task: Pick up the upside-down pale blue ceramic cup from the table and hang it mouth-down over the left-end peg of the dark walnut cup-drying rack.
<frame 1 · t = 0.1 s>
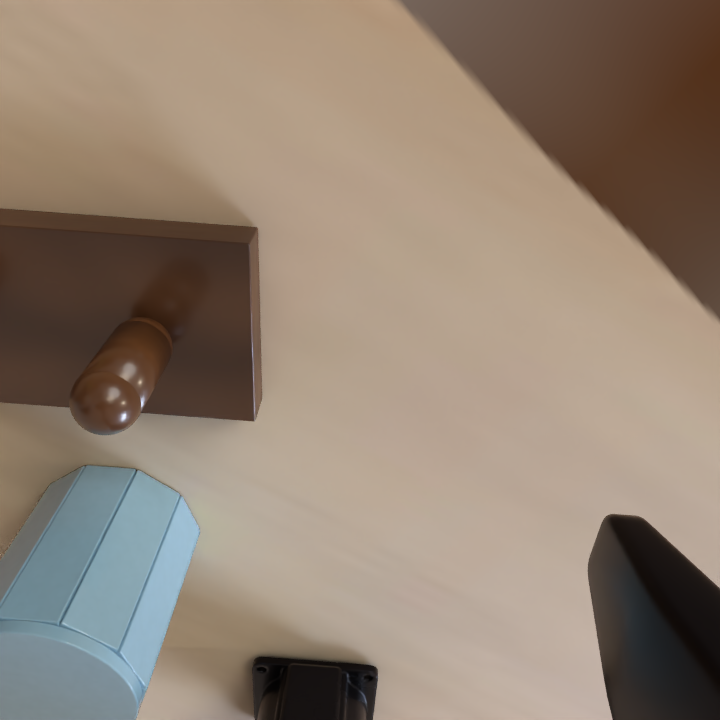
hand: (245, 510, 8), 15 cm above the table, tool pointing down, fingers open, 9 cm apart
cup: (121, 523, 29), on the table
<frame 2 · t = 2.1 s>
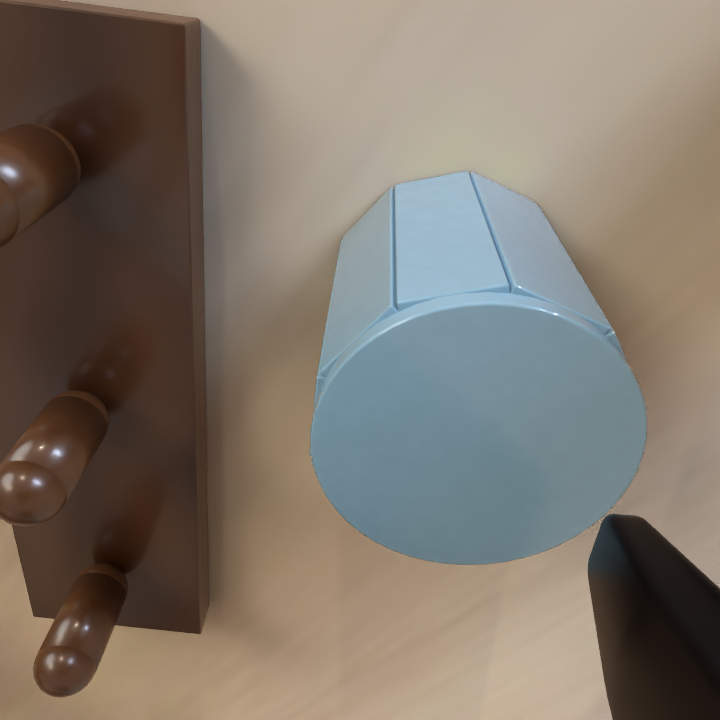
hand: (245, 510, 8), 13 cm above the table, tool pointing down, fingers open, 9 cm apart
cup: (446, 285, 20), on the table
rack: (104, 378, 22), on the table
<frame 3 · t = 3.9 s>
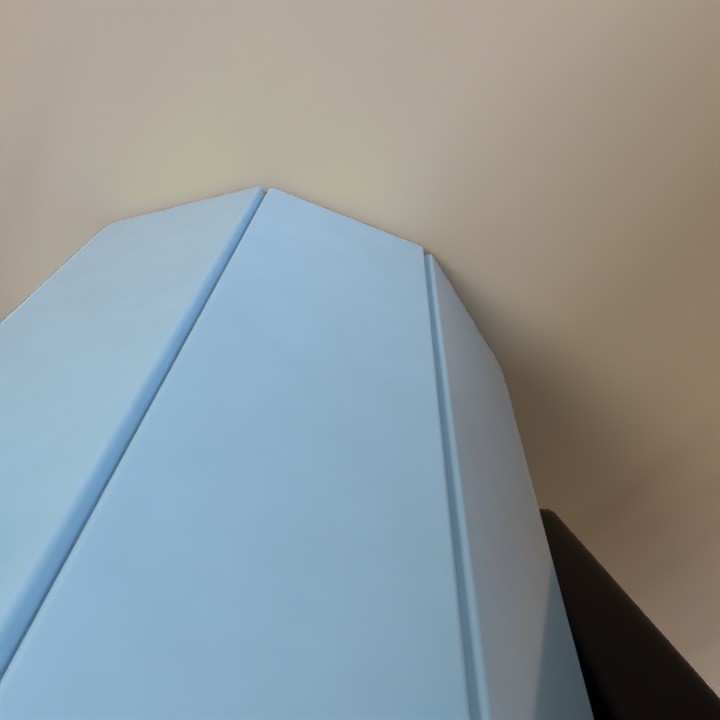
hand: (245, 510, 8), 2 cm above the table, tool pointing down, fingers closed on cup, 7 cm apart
cup: (269, 415, 10), on the table, touching gripper
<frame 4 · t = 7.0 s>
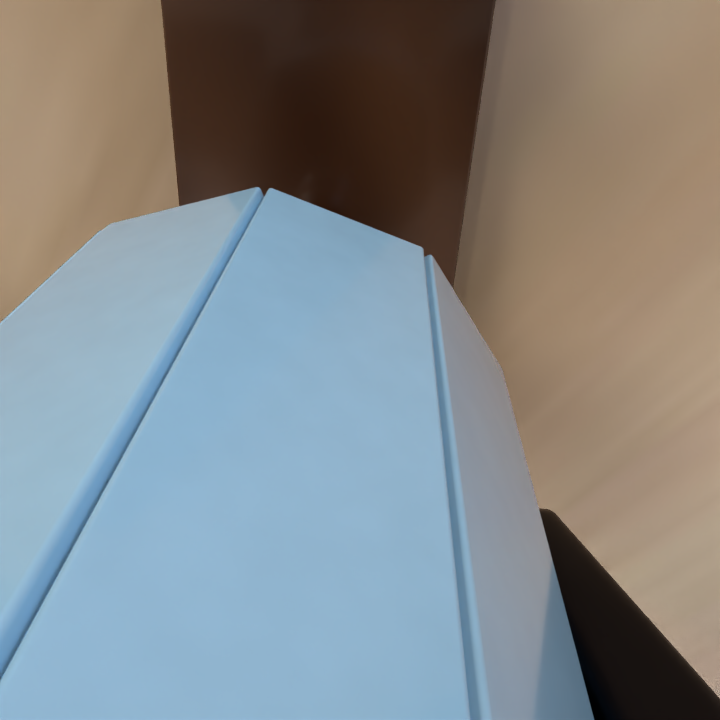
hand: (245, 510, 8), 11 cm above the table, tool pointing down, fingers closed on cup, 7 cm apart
cup: (268, 416, 10), point 9 cm above the table, touching gripper
when the fingers open (3 cm above the table, at t = 10.0 s): cup stays where it is, resting on rack.
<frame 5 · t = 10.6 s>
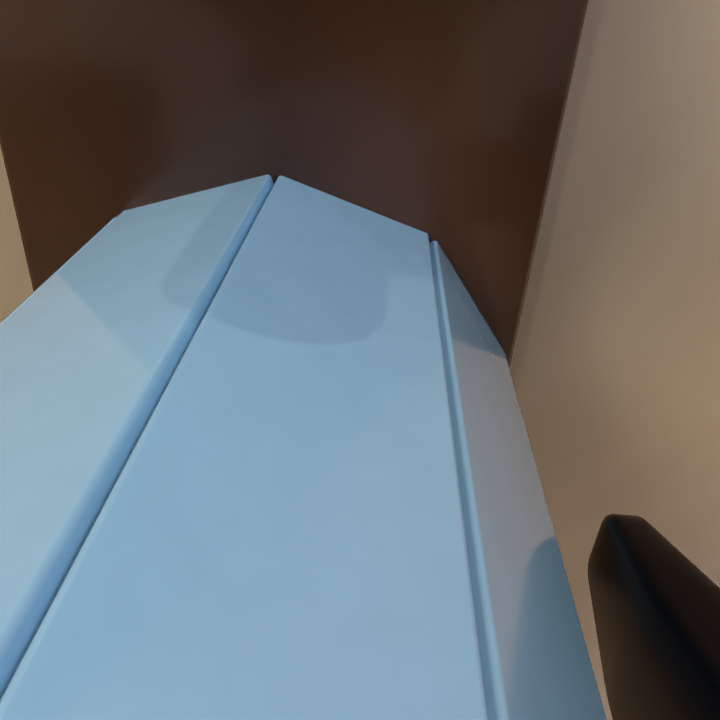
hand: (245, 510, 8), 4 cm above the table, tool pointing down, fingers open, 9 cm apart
cup: (277, 400, 10), point 1 cm above the table, touching rack
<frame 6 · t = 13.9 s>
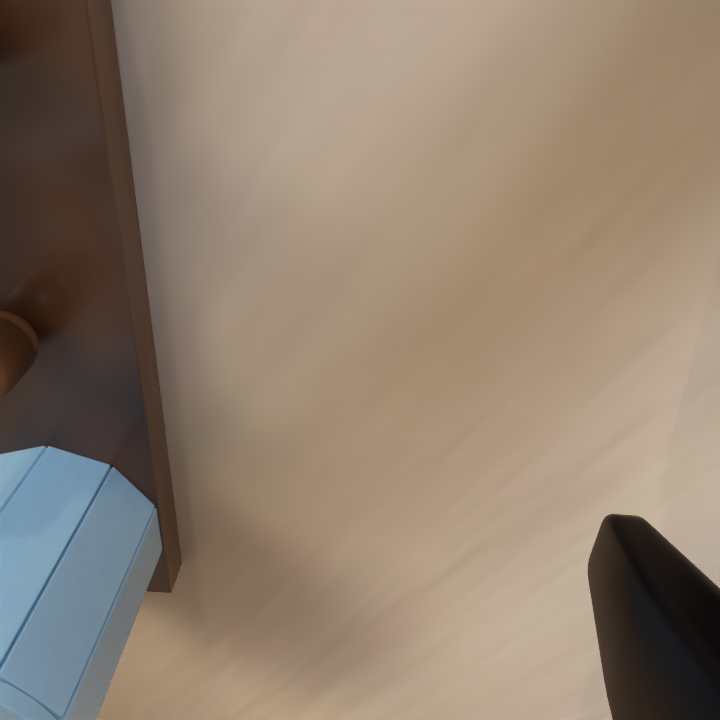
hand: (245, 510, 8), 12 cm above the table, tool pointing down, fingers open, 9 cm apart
cup: (66, 521, 23), point 1 cm above the table, touching rack
rack: (40, 305, 21), on the table
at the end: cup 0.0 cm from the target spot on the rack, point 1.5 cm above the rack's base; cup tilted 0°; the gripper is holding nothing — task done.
